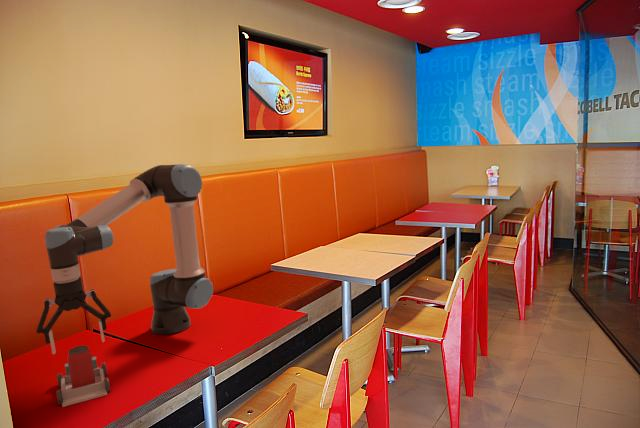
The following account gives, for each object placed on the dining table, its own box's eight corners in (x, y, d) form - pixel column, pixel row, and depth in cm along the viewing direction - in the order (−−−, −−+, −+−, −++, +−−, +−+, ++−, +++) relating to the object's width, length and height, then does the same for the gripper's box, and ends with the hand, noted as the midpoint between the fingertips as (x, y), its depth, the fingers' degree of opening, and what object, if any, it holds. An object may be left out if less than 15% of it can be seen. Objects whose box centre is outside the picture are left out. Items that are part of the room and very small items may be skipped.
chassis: (58, 383, 157) (56, 366, 156) (106, 371, 164) (104, 354, 163) (58, 408, 142) (55, 389, 141) (110, 393, 149) (108, 375, 148)
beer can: (77, 381, 156) (71, 345, 154) (98, 379, 156) (93, 343, 154) (68, 392, 149) (62, 355, 147) (90, 390, 150) (85, 352, 148)
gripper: (17, 292, 138) (31, 362, 142) (113, 273, 149) (123, 339, 153) (19, 285, 145) (33, 352, 149) (111, 268, 156) (121, 331, 160)
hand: (79, 346), depth 151 cm, fingers open, 13 cm apart
